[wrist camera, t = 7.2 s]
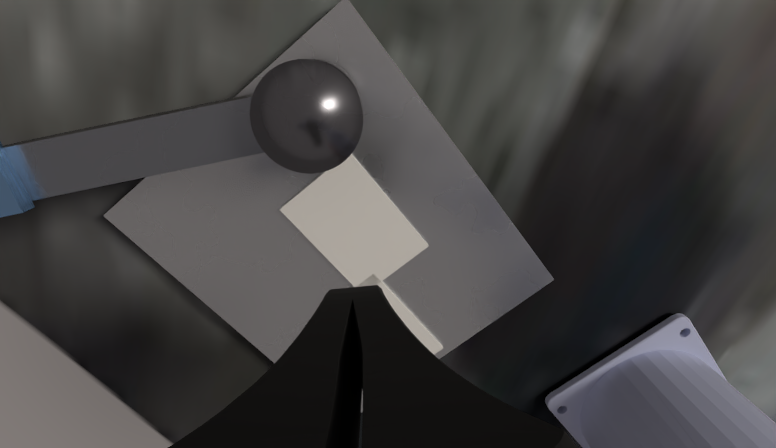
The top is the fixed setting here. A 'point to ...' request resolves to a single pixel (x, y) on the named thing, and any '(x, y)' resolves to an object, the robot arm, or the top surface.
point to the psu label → (354, 223)
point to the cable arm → (196, 137)
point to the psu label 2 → (407, 316)
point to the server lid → (297, 254)
